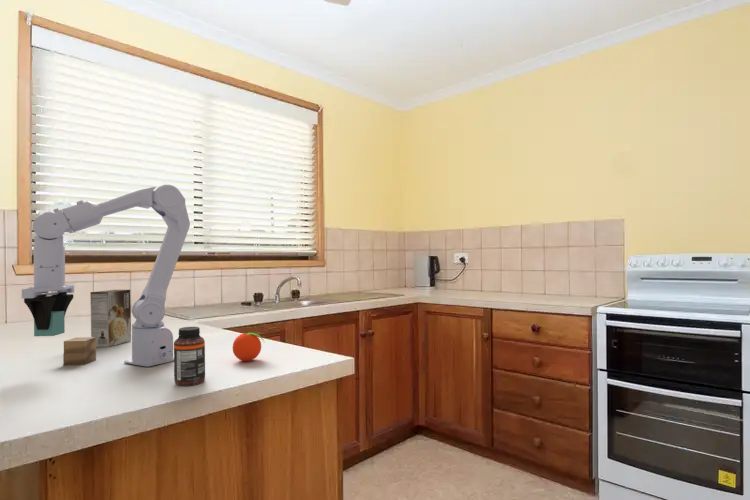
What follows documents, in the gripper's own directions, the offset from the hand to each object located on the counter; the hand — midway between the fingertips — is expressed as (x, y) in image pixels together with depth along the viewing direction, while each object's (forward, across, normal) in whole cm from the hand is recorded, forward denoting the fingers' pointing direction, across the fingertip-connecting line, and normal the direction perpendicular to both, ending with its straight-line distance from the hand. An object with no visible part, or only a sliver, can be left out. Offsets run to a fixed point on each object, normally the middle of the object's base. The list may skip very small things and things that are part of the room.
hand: (49, 327), depth 102 cm
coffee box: (+11, -36, -5) cm, 37 cm away
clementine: (+11, -9, +42) cm, 44 cm away
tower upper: (+8, -11, 0) cm, 14 cm away
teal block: (+2, 0, 0) cm, 2 cm away
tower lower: (+11, -11, 0) cm, 15 cm away
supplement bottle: (+11, +10, +34) cm, 37 cm away
